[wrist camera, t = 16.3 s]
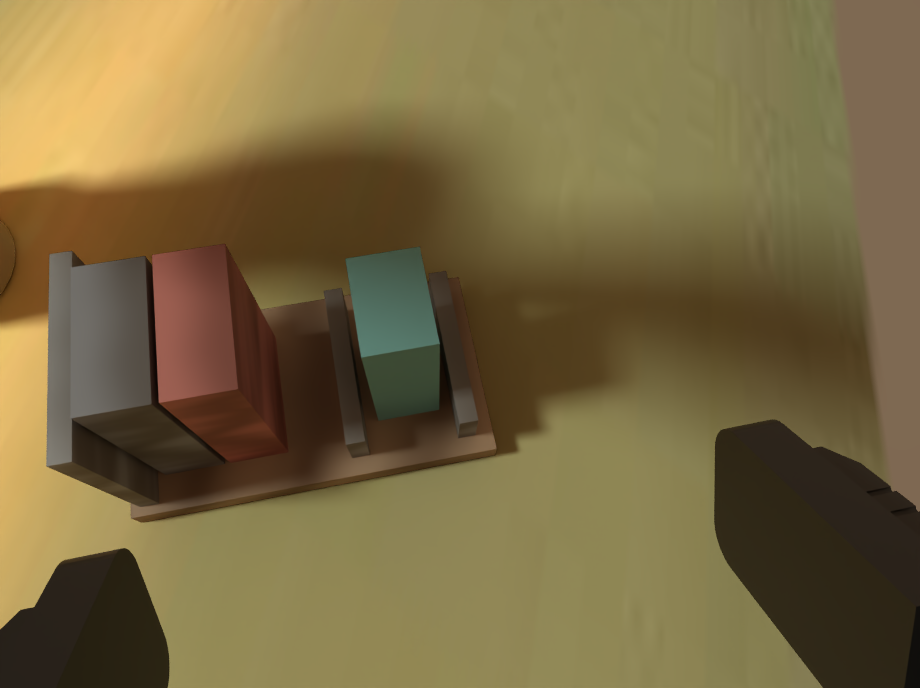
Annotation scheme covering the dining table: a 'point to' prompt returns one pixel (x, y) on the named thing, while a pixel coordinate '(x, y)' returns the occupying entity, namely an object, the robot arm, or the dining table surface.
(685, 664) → the dining table surface
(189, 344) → the book rack
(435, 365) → the teal block
